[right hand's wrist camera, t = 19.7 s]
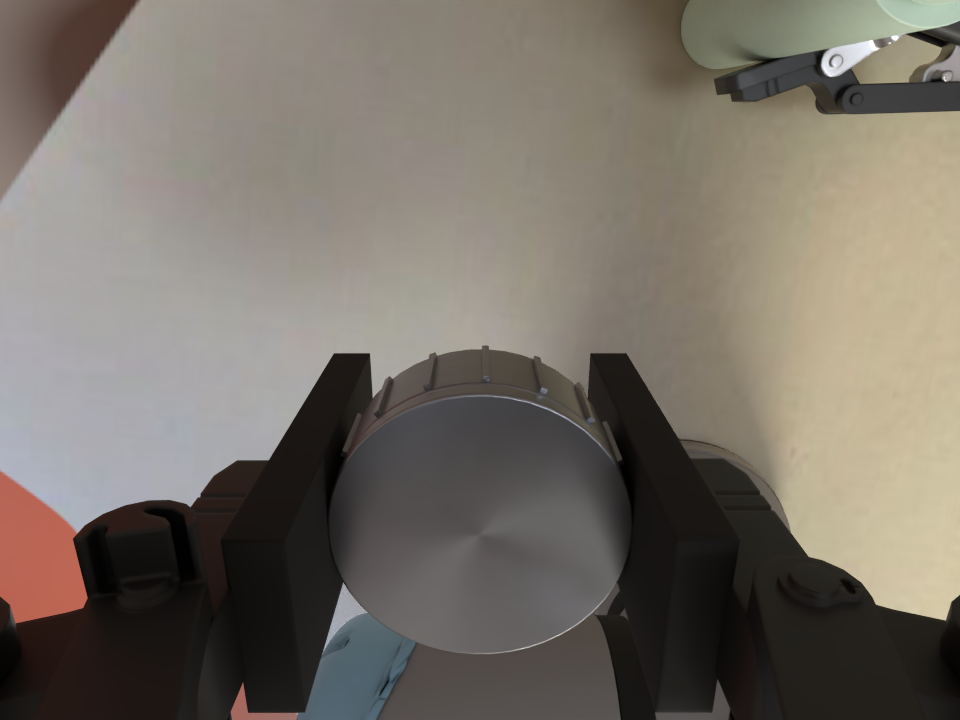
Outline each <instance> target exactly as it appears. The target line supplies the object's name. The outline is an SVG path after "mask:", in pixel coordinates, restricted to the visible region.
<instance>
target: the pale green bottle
mask: <svg viewBox="0 0 960 720" xmlns="http://www.w3.org/2000/svg"><path fill="white" fill-rule="evenodd" d="M958 21H960V0H689V2H688V4H687V6H686V8H685V10H684V13H683V16H682V21H681V37H682V42H683V45H684V47H685V49H686V51H687V53H688V54H689V56H690V57H691V58H692V59H693V60H694V61H695V62H696V63H698V64H699V65H701V66H703V67H706V68H710V69H725V68H730V67H736V66H741V65H746V64H751V63H756V62H762V61H767V60H772V59H777V58H782V57H788V56H793V55H798V54H803V53H808V52H813V51H819V50H824V49H829V48H834V47H839V46H845V45H850V44H855V43H860V42H865V41H870V40H876V39H881V38H886V37H891V36H896V35H902V34H907V33H912V32H917V31H922V30H927V29H933V28H938V27H942V26H947V25H950V24H953V23H955V22H958Z"/></svg>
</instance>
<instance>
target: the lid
mask: <svg viewBox="0 0 960 720" xmlns="http://www.w3.org/2000/svg"><path fill="white" fill-rule="evenodd" d="M340 456H342V457H344V459H343V462H342V465H341V467H340V470H339V472H338V475H337V477H336V480H335V483H334V486H333V488H332V491H331V494H330V500H329V505H328V510H327V524H328V535H329V546H330V551H331V554H332V558H333V561H334V564H335V566H336V568H337V571H338V573H339V575H340V577H341V579H342V581H343V582H344V584H345V585H346V587H347V589H348V590H349V592H350V593H351V594H352V596H353V597H354V598H355V599H356V600H357V602H358V603H359V604H360V605H361V606H362V607H363V608H364V609H365V610H366V611H367V612H368V613H369V614H370V615H371V616H372V617H374V618H375V619H376V620H378V621H379V622H380V623H382V624H383V625H385V626H386V627H387V628H389V629H391V630H392V631H394V632H396V633H398V634H399V635H401V636H403V637H405V638H408V639H410V640H412V641H415V642H417V643H419V644H422V645H426V646H429V647H432V648H436V649H439V650H445V651H450V652H455V653H466V654H496V653H504V652H512V651H516V650H521V649H525V648H529V647H532V646H535V645H538V644H541V643H544V642H547V641H549V640H551V639H553V638H555V637H557V636H559V635H562V634H563V633H565V632H567V631H568V630H570V629H572V628H573V627H575V626H576V625H578V624H579V623H581V622H582V621H583V620H584V619H586V618H587V617H588V616H589V615H591V614H592V613H593V612H594V611H595V610H596V609H597V608H598V607H599V606H600V605H601V604H602V603H603V602H604V600H605V599H606V598H607V597H608V595H609V594H610V593H611V591H612V590H613V589H614V587H615V585H616V584H617V582H618V580H619V578H620V576H621V575H622V573H623V570H624V568H625V565H626V563H627V560H628V557H629V554H630V549H631V541H632V530H633V505H632V500H631V496H630V492H629V488H628V486H627V483H626V481H625V478H624V476H623V473H622V470H621V468H620V466H622V465H624V464H625V463H624V461H623V458H622V456H621V454H620V451H619V449H618V446H617V444H616V442H615V439H614V437H613V434H612V432H611V429H610V427H609V425H608V422H607V421H605V422H602V421H601V418H600V416H599V415H598V413H597V411H596V410H595V408H594V406H593V405H592V403H591V402H590V401H589V400H588V398H587V397H586V394H585V392H584V389H583V387H582V385H581V384H580V383H577V384H576V385H574V384H573V383H572V382H571V381H570V380H569V379H567V378H566V377H565V376H563V375H562V374H560V373H559V372H557V371H556V370H554V369H553V368H551V367H549V366H547V365H545V364H543V363H541V359H540V358H539V357H537V356H534V358H533V359H531V358H528V357H525V356H523V355H519V354H514V353H510V352H506V351H497V350H489V346H482V350H463V351H456V352H450V353H446V354H442V355H439V356H437V355H436V353H432V354H430V355H429V359H427V360H425V361H422V362H420V363H418V364H415V365H414V366H412V367H410V368H408V369H407V370H405V371H403V372H402V373H400V374H399V375H397V376H396V377H395V378H394V379H392V378H391V377H390V376H389V377H388V378H387V379H385V382H384V385H383V387H382V389H381V390H380V391H379V392H378V393H377V394H376V395H375V397H374V398H373V399H372V401H371V402H370V403H369V405H368V406H367V407H366V409H365V411H364V413H363V414H362V415H361V414H359V413H357V415H356V417H355V420H354V422H353V425H352V427H351V429H350V432H349V434H348V437H347V439H346V442H345V444H344V446H343V449H342V451H341V454H340Z"/></svg>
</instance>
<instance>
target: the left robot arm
mask: <svg viewBox="0 0 960 720" xmlns="http://www.w3.org/2000/svg"><path fill="white" fill-rule="evenodd" d="M903 35H905V34H902V35H896V36H891V37H886V38H881V39H876V40H870V41H865V42H860V43H855V44H850V45H845V46H839V47H834V48H829V49H824V50H819V51H813V52H808V53H803V54H798V55H793V56H788V57H782V58H777V59H772V60H767V61H764V62H761V63H758V64H755V65H752V66H749V67H747V68H744V69H741V70H738V71H735V72H732V73H729V74H727V75H724V76H721V77H718V78H716V79H714V82H715V87H716V92H717V95H721V94H729V93H730V94H731V99H732V102H756V101H759V100H762V99H765V98H767V97H770V96H773V95H776V94H779V93H782V92H785V91H788V90H791V89H794V88H796V87H799V86H802V85H807V86H809V87H810V88H811V89H812V91H813V92H814V94H815V96H816V101H815V104H816V108H817V110H818V111H819V112H820V113H822V114H874V113H907V112H940V111H960V21H958V22H955V23H953V24H950V25H947V26H942V27H938V28H933V29H927V30H922V31H917V32H912V33H907V34H906V35H909V36H912V37H914V38H917V39H920V40H922V41H925V42H928V43H931V44H933V45H936V46H939V47H941V48H942V50H941V53H940V55H939V56H938V57H937V58H936V59H935V60H934V61H933V62H931V63H928V64H923V65H921V66H919V67H918V68H916V69H915V71H914V72H913V74H912V75H911V76H910V78H909V83H882V84H859V82H858V80H857V78H856V76H855V75H854V73H853V71H852V69H851V67H853V66H854V65H856V64H857V63H859V62H860V61H862V60H863V59H865V58H866V57H867V56H869V55H870V54H872V53H873V52H875V51H876V50H878V49H880V48H882V47H885V46H887V45H889V44H891V43H893V42H894V41H896V40H898V39H899V38H900V37H902V36H903Z"/></svg>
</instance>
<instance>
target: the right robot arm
mask: <svg viewBox="0 0 960 720" xmlns="http://www.w3.org/2000/svg"><path fill="white" fill-rule="evenodd" d="M372 399H373V396H372V380H371V364H370V353H334V354H333V356H332V358H331V359H330V361H329V363H328V364H327V366H326V368H325V369H324V371H323V372H322V374H321V376H320V377H319V379H318V381H317V382H316V384H315V386H314V387H313V389H312V391H311V392H310V394H309V395H308V397H307V399H306V400H305V402H304V404H303V405H302V407H301V409H300V410H299V412H298V413H297V415H296V417H295V418H294V420H293V422H292V423H291V425H290V427H289V428H288V430H287V432H286V433H285V435H284V436H283V438H282V440H281V441H280V443H279V445H278V446H277V448H276V450H275V451H274V453H273V454H272V456H271V458H270V459H269V460H237V461H236V462H234V463H233V464H231V465H230V466H228V467H227V468H225V469H224V470H222V471H221V472H219V473H218V474H216V475H215V476H213V478H212V479H211V481H210V482H209V483H208V485H207V486H206V487H205V489H204V490H203V491H202V493H201V497H200V498H197V500H196V501H195V502H194V504H193V505H192V506H191V508H190V507H189V506H188V505H187V504H184V503H180V502H175V501H171V500H153V501H144V502H140V503H135V504H130V505H125V506H123V507H120V508H118V509H115V510H112V511H110V512H107V513H105V514H103V515H101V516H99V517H98V518H96V519H95V520H93V521H91V522H90V523H88V524H87V525H85V526H84V527H83V528H82V529H81V530H80V532H79V533H78V534H77V535H76V536H75V537H74V538H73V541H74V545H75V549H76V553H77V557H78V561H79V565H80V568H81V573H82V577H83V581H84V585H85V589H86V593H87V597H88V599H87V601H86V603H85V606H84V608H82V609H79V610H75V611H71V612H68V613H63V614H58V615H53V616H49V617H44V618H39V619H35V620H30V621H25V622H21V623H16V624H15V620H14V617H13V614H12V611H11V607H10V605H9V604H8V603H7V602H6V601H5V600H3V599H2V598H1V597H0V720H232V718H231V709H232V707H233V705H234V702H235V700H236V697H237V695H238V693H239V690H240V688H241V686H242V683H243V684H244V690H245V696H246V702H247V709H248V713H299V714H298V717H297V720H960V595H959V596H958V597H957V598H956V599H955V600H953V601H952V603H951V606H950V609H949V612H948V616H947V619H946V621H945V620H940V619H935V618H930V617H926V616H921V615H916V614H911V613H907V612H902V611H897V610H893V609H889V608H885V607H882V606H878V605H876V604H875V602H874V600H873V598H872V596H871V595H870V594H869V592H868V591H867V590H866V588H865V587H864V586H863V584H862V583H861V582H860V581H858V580H857V579H856V578H854V577H853V576H851V575H850V574H849V573H847V572H846V571H845V570H843V569H841V568H838V567H836V566H834V565H832V564H829V563H827V562H825V561H823V560H819V559H814V558H810V557H808V555H807V554H806V553H805V551H804V550H803V549H802V547H801V546H800V545H799V543H798V542H797V541H796V539H795V538H794V537H793V535H792V534H791V532H790V527H789V523H788V520H787V517H786V515H785V513H784V510H783V507H782V505H781V503H780V501H779V499H778V498H777V496H776V495H775V493H774V492H773V490H772V489H771V488H770V486H769V485H768V484H767V482H766V481H765V480H764V479H763V478H762V476H761V475H760V474H759V473H758V472H757V471H756V470H755V469H754V468H753V467H752V466H751V465H750V464H748V463H747V462H746V461H744V460H743V459H741V458H740V457H738V456H736V455H735V454H733V453H731V452H729V451H727V450H724V449H722V448H719V447H716V446H713V445H709V444H705V443H699V442H693V441H679V439H678V437H677V436H676V434H675V432H674V431H673V429H672V428H671V426H670V424H669V423H668V421H667V419H666V418H665V416H664V414H663V413H662V411H661V410H660V408H659V406H658V405H657V403H656V401H655V400H654V398H653V396H652V395H651V393H650V391H649V390H648V388H647V387H646V385H645V383H644V382H643V380H642V378H641V377H640V375H639V373H638V372H637V370H636V369H635V367H634V365H633V364H632V362H631V360H630V359H629V357H628V355H627V354H626V353H591V354H590V370H589V387H588V400H589V401H590V402H591V403H592V405H593V406H594V408H595V410H596V411H597V413H598V415H599V416H600V418H601V421H602V422H605V421H607V422H608V425H609V427H610V429H611V432H612V434H613V437H614V439H615V442H616V444H617V446H618V449H619V451H620V454H621V456H622V458H623V461H624V463H625V464H624V465H622V466H620V468H621V470H622V473H623V476H624V478H625V481H626V483H627V486H628V488H629V492H630V496H631V500H632V505H633V530H632V541H631V549H630V554H629V557H628V560H627V563H626V565H625V568H624V570H623V573H622V575H621V576H620V578H619V580H618V582H617V584H616V585H615V587H614V589H613V590H612V591H611V593H610V594H609V595H608V597H607V598H606V599H605V600H604V602H603V603H602V604H601V605H600V606H599V607H598V608H597V609H596V610H595V611H594V612H593V613H592V614H591V615H589V616H588V617H587V618H586V619H584V620H583V621H582V622H581V623H579V624H578V625H576V626H575V627H573V628H572V629H570V630H568V631H567V632H565V633H563V634H562V635H559V636H557V637H555V638H553V639H551V640H549V641H547V642H544V643H541V644H538V645H535V646H532V647H529V648H525V649H521V650H516V651H512V652H504V653H496V654H466V653H455V652H450V651H445V650H439V649H436V648H432V647H429V646H426V645H422V644H419V643H417V642H415V641H412V640H410V639H408V638H405V637H403V636H401V635H399V634H398V633H396V632H394V631H392V630H391V629H389V628H387V627H386V626H385V625H383V624H382V623H380V622H379V621H378V620H376V619H375V618H374V617H372V616H371V615H370V614H369V613H365V614H361V615H358V616H356V617H354V618H353V619H351V620H350V621H348V622H347V623H346V624H344V625H343V626H342V627H341V628H340V629H339V630H338V632H337V633H336V634H335V635H334V636H333V638H332V639H331V641H330V642H329V643H328V645H327V647H326V649H325V650H324V652H323V649H324V646H325V643H326V639H327V636H328V632H329V629H330V625H331V622H332V619H333V615H334V612H335V608H336V605H337V602H338V598H339V595H340V591H341V588H342V584H343V581H342V579H341V577H340V575H339V573H338V571H337V568H336V566H335V564H334V561H333V558H332V554H331V551H330V546H329V535H328V524H327V510H328V505H329V500H330V494H331V491H332V488H333V486H334V483H335V480H336V477H337V475H338V472H339V470H340V467H341V465H342V462H343V459H344V457H342V456H340V454H341V451H342V449H343V446H344V444H345V442H346V439H347V437H348V434H349V432H350V429H351V427H352V425H353V422H354V420H355V417H356V415H357V413H359V414H361V415H362V414H363V413H364V411H365V409H366V407H367V406H368V405H369V403H370V402H371V401H372ZM322 653H323V654H322Z"/></svg>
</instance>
